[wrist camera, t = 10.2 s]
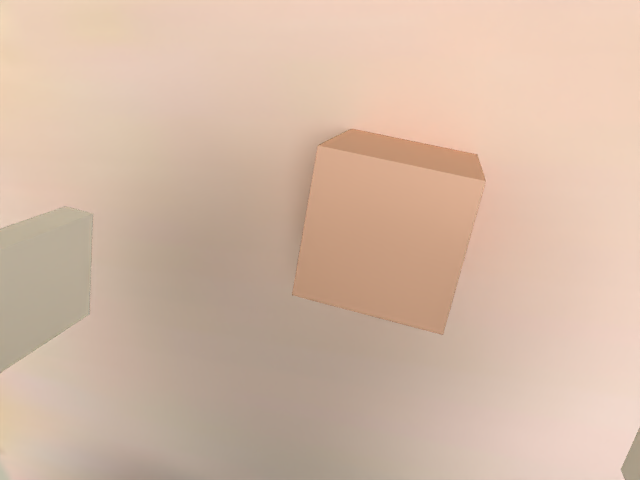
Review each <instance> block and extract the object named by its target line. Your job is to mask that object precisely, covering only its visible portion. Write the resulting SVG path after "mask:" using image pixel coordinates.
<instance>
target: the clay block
mask: <svg viewBox="0 0 640 480" xmlns="http://www.w3.org/2000/svg"><path fill="white" fill-rule="evenodd" d="M485 182H486V180H485V177H484V174H483V171H482V168H481V165H480V162H479V159H478V156H477V155H476V154H472V153H467V152H462V151H457V150H452V149H447V148H443V147H438V146H433V145H428V144H423V143H418V142H413V141H409V140H404V139H399V138H394V137H389V136H384V135H379V134H375V133H370V132H365V131H360V130H355V129H350V130H348V131H346V132H344V133H342V134H340V135H338V136H336V137H334V138H332V139H330V140H328V141H326V142H324V143H322V144H319V145H318V147H317V153H316V159H315V164H314V170H313V176H312V182H311V188H310V193H309V199H308V205H307V211H306V217H305V222H304V228H303V234H302V240H301V246H300V251H299V257H298V263H297V269H296V275H295V280H294V286H293V292H292V295H294V296H297V297H301V298H305V299H309V300H313V301H316V302H320V303H324V304H328V305H332V306H335V307H339V308H343V309H347V310H351V311H354V312H358V313H362V314H366V315H370V316H373V317H377V318H381V319H385V320H389V321H392V322H396V323H400V324H404V325H407V326H411V327H415V328H419V329H423V330H426V331H430V332H434V333H438V334H442V335H443V333H444V329H445V325H446V322H447V318H448V315H449V311H450V308H451V304H452V300H453V297H454V293H455V290H456V286H457V283H458V279H459V275H460V272H461V268H462V265H463V261H464V258H465V254H466V250H467V247H468V243H469V240H470V236H471V232H472V229H473V225H474V222H475V218H476V215H477V211H478V207H479V204H480V200H481V197H482V193H483V190H484V186H485Z"/></svg>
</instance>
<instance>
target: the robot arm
mask: <svg viewBox="0 0 640 480" xmlns="http://www.w3.org/2000/svg"><path fill="white" fill-rule="evenodd" d="M92 226H93V214H92V213H88V212H84V211H81V210H77V209H73V208H69V207H62V208H59V209H57V210H54V211H51V212H48V213H45V214H42V215H39V216H36V217H33V218H30V219H27V220H25V221H22V222H19V223H16V224H13V225H10V226H7V227H4V228H1V229H0V373H1V372H2V371H4V370H5V369H7V368H8V367H10V366H11V365H13V364H15V363H16V362H18V361H19V360H21V359H22V358H24V357H25V356H27V355H28V354H30V353H31V352H33V351H34V350H36V349H37V348H39V347H40V346H42V345H43V344H45V343H46V342H48V341H49V340H51V339H52V338H54V337H55V336H57V335H58V334H60V333H61V332H63V331H64V330H66V329H68V328H69V327H71V326H72V325H74V324H75V323H77V322H78V321H80V320H81V319H83V318H84V317H86V316H87V315H89V313H90V284H91V255H92ZM621 471H622V474H623V476H624V478H625V480H640V428H639V430H638V432H637V435H636V437H635V439H634V441H633V444H632V446H631V448H630V450H629V452H628V455H627V457H626V459H625V461H624V463H623V466H622V468H621Z"/></svg>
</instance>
